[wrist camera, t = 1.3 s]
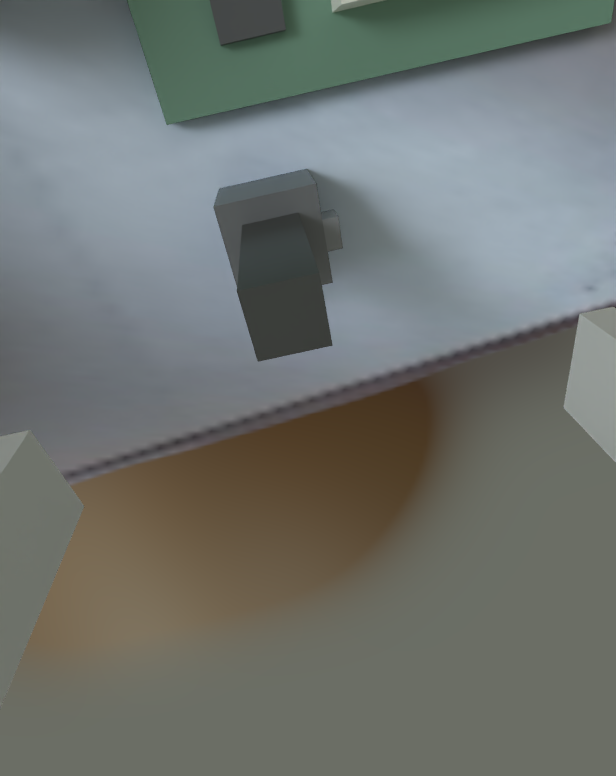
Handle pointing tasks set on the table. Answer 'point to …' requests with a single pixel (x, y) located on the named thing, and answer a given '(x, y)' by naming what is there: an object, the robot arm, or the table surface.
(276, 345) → the plug
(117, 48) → the table surface
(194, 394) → the table surface
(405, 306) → the table surface
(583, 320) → the robot arm
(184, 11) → the board
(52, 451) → the table surface
